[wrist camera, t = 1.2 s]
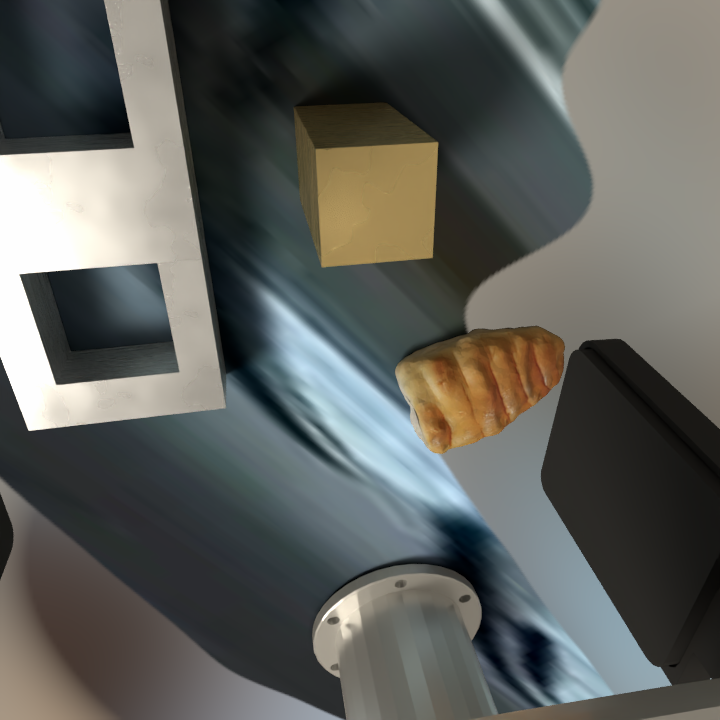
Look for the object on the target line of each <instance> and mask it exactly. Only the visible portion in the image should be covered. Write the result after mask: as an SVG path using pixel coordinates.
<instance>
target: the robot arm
mask: <svg viewBox="0 0 720 720" xmlns="http://www.w3.org/2000/svg"><path fill="white" fill-rule="evenodd" d="M541 482H542V486H543V489H544V491H545V493H546V495H547V497H548V498H549V500H550V501H551V503H552V505H553V506H554V508H555V510H556V511H557V513H558V515H559V516H560V518H561V519H562V521H563V523H564V524H565V526H566V528H567V529H568V531H569V532H570V534H571V536H572V537H573V539H574V541H575V542H576V544H577V545H578V547H579V549H580V550H581V552H582V554H583V555H584V557H585V559H586V560H587V562H588V563H589V565H590V567H591V568H592V570H593V572H594V573H595V575H596V576H597V578H598V580H599V581H600V582H601V585H602V586H603V588H604V589H605V591H606V593H607V594H608V596H609V597H610V599H611V601H612V603H613V604H614V606H615V607H616V609H617V611H618V612H619V614H620V615H621V617H622V619H623V620H624V622H625V624H626V625H627V627H628V628H629V630H630V632H631V633H632V635H633V637H634V638H635V640H636V641H637V643H638V645H639V647H640V648H641V650H642V651H643V653H644V654H645V656H646V658H647V659H648V660H649V661H650V662H651V663H652V664H653V665H655V666H657V667H661V668H662V670H663V671H664V673H665V675H666V676H667V678H668V679H669V681H670V683H671V684H672V686H666V687H660V688H654V689H649V690H642V691H636V692H631V693H624V694H618V695H612V696H606V697H600V698H594V699H588V700H582V701H576V702H570V703H564V704H558V705H552V706H546V707H540V708H534V709H528V710H522V711H516V712H510V713H504V714H498V712H497V710H496V707H495V704H494V701H493V699H492V696H491V693H490V690H489V688H488V685H487V682H486V680H485V677H484V674H483V671H482V669H481V666H480V663H479V660H478V658H477V655H476V652H475V649H474V647H473V644H472V641H471V640H472V639H473V638H474V636H475V634H476V632H477V630H478V628H479V625H480V622H481V618H482V609H481V605H480V602H479V599H478V596H477V594H476V592H475V590H474V588H473V586H472V585H471V583H470V582H469V581H468V580H467V579H466V578H465V577H463V576H462V575H460V574H458V573H457V572H455V571H453V570H450V569H447V568H444V567H441V566H434V565H428V564H406V565H398V566H392V567H388V568H384V569H380V570H376V571H374V572H371V573H369V574H366V575H364V576H361V577H359V578H358V579H356V580H354V581H352V582H350V583H349V584H347V585H345V586H344V587H343V588H341V589H340V590H339V591H338V592H336V593H335V594H334V595H333V596H332V597H331V598H330V599H329V600H328V601H327V602H326V603H325V604H324V605H323V607H322V608H321V610H320V611H319V613H318V614H317V616H316V619H315V622H314V625H313V632H312V639H313V646H314V653H315V655H316V657H317V659H318V661H319V663H320V664H321V665H322V666H323V667H324V668H325V669H326V670H327V671H329V672H330V673H332V674H333V675H335V676H337V677H339V678H340V679H341V686H342V692H343V699H344V705H345V711H346V718H347V720H720V429H719V428H718V427H717V426H716V425H715V424H714V423H712V422H711V421H710V420H709V419H708V418H707V417H706V416H705V415H704V414H703V413H702V412H701V411H699V410H698V409H697V408H696V407H695V406H694V405H693V404H692V403H691V402H690V401H689V400H687V399H686V398H685V397H684V396H683V395H682V394H681V393H680V392H678V390H677V389H675V388H674V387H673V386H672V385H671V384H670V383H669V382H668V381H667V380H666V379H665V378H664V377H662V376H661V375H660V374H659V373H658V372H657V371H656V370H655V369H654V368H653V367H651V366H650V365H649V364H648V363H647V362H646V361H645V360H644V359H643V358H642V357H641V356H640V355H638V354H637V353H636V352H635V351H634V350H633V349H632V348H631V347H630V346H629V345H628V344H627V343H625V342H624V341H622V340H621V339H606V340H591V341H585V342H583V343H582V345H581V346H580V347H579V350H575V351H573V353H572V354H571V356H570V358H569V362H568V366H567V370H566V374H565V378H564V382H563V386H562V390H561V394H560V398H559V402H558V406H557V410H556V414H555V418H554V422H553V426H552V430H551V434H550V438H549V442H548V446H547V450H546V454H545V458H544V462H543V466H542V470H541ZM12 546H13V528H12V524H11V521H10V518H9V516H8V513H7V511H6V508H5V505H4V502H3V500H2V497H1V495H0V579H1V576H2V574H3V571H4V569H5V566H6V563H7V560H8V558H9V555H10V552H11V550H12ZM710 678H712V679H711V680H710Z"/></svg>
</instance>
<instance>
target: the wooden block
mask: <svg viewBox="0 0 720 720" xmlns="http://www.w3.org/2000/svg"><path fill="white" fill-rule="evenodd" d="M294 115H295V130H296V145H297V160H298V174H299V189H300V201H301V204H302V207H303V210H304V213H305V216H306V219H307V222H308V226H309V229H310V232H311V235H312V238H313V241H314V244H315V247H316V251H317V254H318V257H319V260H320V263H321V266H322V267H330V266H342V265H354V264H365V263H377V262H389V261H401V260H413V259H424V258H432V257H433V237H434V217H435V197H436V177H437V157H438V142H437V141H436V140H435V139H433V138H432V137H431V136H429V135H428V134H427V133H425V132H424V131H423V130H422V129H420V128H419V127H418V126H416V125H415V124H414V123H412V122H411V121H410V120H408V119H407V118H406V117H404V116H403V115H402V114H401V113H399V112H398V111H397V110H395V109H394V108H393V107H391V106H390V105H389V104H387V103H386V102H384V103H363V104H341V105H320V106H298V107H294Z"/></svg>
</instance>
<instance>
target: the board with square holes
mask: <svg viewBox="0 0 720 720" xmlns="http://www.w3.org/2000/svg"><path fill="white" fill-rule="evenodd" d="M104 2H105V7H106V12H107V16H108V21H109V26H110V31H111V36H112V41H113V46H114V51H115V56H116V61H117V66H118V71H119V76H120V81H121V85H122V90H123V95H124V100H125V105H126V110H127V115H128V120H129V125H130V130H131V133H113V134H93V135H74V136H54V137H34V138H15V139H5V136H4V133H3V130H2V126H1V123H0V356H1V359H2V361H3V364H4V367H5V369H6V372H7V374H8V377H9V380H10V382H11V385H12V388H13V390H14V393H15V395H16V398H17V401H18V403H19V406H20V409H21V411H22V414H23V416H24V419H25V422H26V424H27V427H28V430H29V431H31V430H39V429H48V428H57V427H65V426H74V425H83V424H92V423H100V422H109V421H118V420H126V419H135V418H144V417H152V416H161V415H170V414H178V413H187V412H196V411H205V410H213V409H222V408H226V369H225V363H224V357H223V350H222V344H221V337H220V331H219V325H218V318H217V312H216V305H215V299H214V292H213V286H212V280H211V273H210V267H209V260H208V254H207V247H206V241H205V235H204V228H203V222H202V215H201V209H200V202H199V196H198V190H197V183H196V177H195V170H194V164H193V157H192V151H191V145H190V138H189V132H188V125H187V119H186V113H185V106H184V100H183V93H182V87H181V80H180V74H179V68H178V61H177V55H176V48H175V42H174V35H173V29H172V23H171V16H170V10H169V3H168V0H104ZM149 263H158V268H159V273H160V278H161V282H162V287H163V292H164V297H165V302H166V307H167V312H168V317H169V322H170V327H171V332H172V337H173V342H163V343H153V344H143V345H133V346H122V347H112V348H102V349H92V350H82V351H72V352H71V350H70V347H69V344H68V341H67V337H66V334H65V331H64V328H63V324H62V321H61V318H60V315H59V311H58V308H57V305H56V302H55V298H54V295H53V292H52V289H51V285H50V282H49V279H48V276H47V272H49V271H62V270H74V269H87V268H99V267H111V266H124V265H136V264H149Z"/></svg>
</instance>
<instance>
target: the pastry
mask: <svg viewBox="0 0 720 720" xmlns="http://www.w3.org/2000/svg"><path fill="white" fill-rule="evenodd" d="M564 350H565V346H564V342H563V340H562V339H561V338H560V337H558V336H557V335H555V334H553V333H551V332H549V331H547V330H545V329H543V328H541V327H539V326H530V327H518V328H515V329H514V328H504V329H496V330H489V329H474V330H472V331H470V332H469V333H468V334H466V335H462V336H457V337H455V338H452V339H449V340H446V341H443V342H438V343H435V344H433V345H430V346H427V347H425V348H423V349H421V350H418V351H416V352H414V353H412V354H411V355H409V356H407V357H405V358H404V359H403V360H402V361H400V362H399V363H398V365H397V367H396V370H395V374H396V377H397V380H398V384H399V387H400V389H401V391H402V393H403V395H404V397H405V400H406V401H407V402H408V404H409V405H410V407H411V413H410V419H411V423H412V425H413V427H414V430H415V432H416V433H417V435H418V437H419V438H420V439H421V440H422V441H423V442H424V444H425V445H426V446H427V448H428V449H429V450H430V451H432V452H434V453H439V454H443V453H445V452H446V451H447V450H448V449H451V448H455V447H460V446H464V445H468V444H472V443H475V442H477V441H478V440H480V439H481V438H484V437H487V436H493V435H496V434H499V433H500V432H501V431H502V430H503V429H504V427H506V426H507V425H508V424H509V423H511V422H513V421H514V420H515V419H516V418H517V416H518V415H519V414H521V413H522V412H524V411H526V410H527V409H529V408H530V407H532V406H534V405H535V404H536V403H537V402H538V401H539V400H540V399H542V398H543V397H544V396H546V395H547V394H548V392H549V391H550V390H551V389H552V388H553V387H554V386H555V385H557V384H558V383H559V381H560V378H561V376H562V372H563V368H564V367H563V366H564V356H563V355H564V354H563V352H564Z"/></svg>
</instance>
